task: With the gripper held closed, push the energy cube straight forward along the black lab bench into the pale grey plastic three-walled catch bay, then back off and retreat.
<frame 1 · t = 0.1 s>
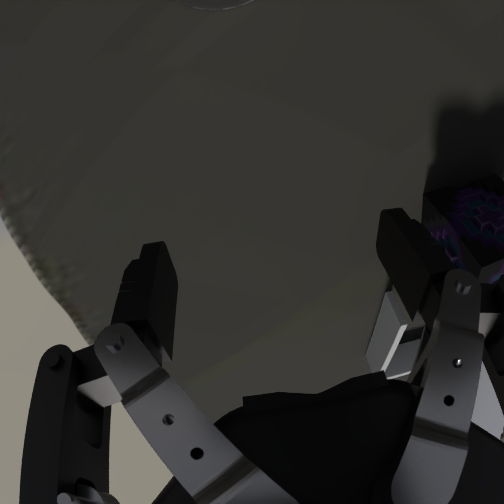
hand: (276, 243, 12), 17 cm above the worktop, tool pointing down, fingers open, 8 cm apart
energy cube: (456, 220, 35), on the worktop
catch bay: (421, 316, 48), on the worktop
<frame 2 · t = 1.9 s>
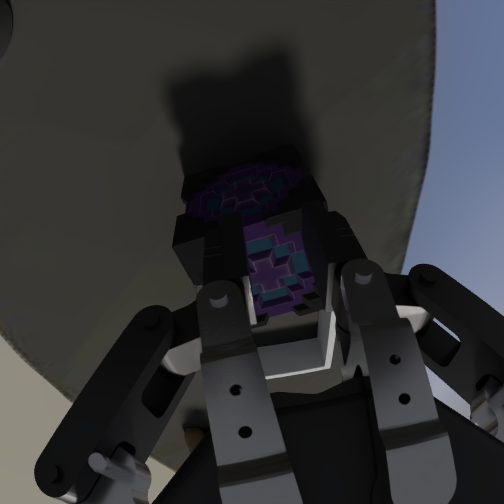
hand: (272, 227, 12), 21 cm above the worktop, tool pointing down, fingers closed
energy cube: (253, 204, 36), on the worktop
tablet: (208, 441, 89), on the worktop
catch bay: (268, 317, 49), on the worktop
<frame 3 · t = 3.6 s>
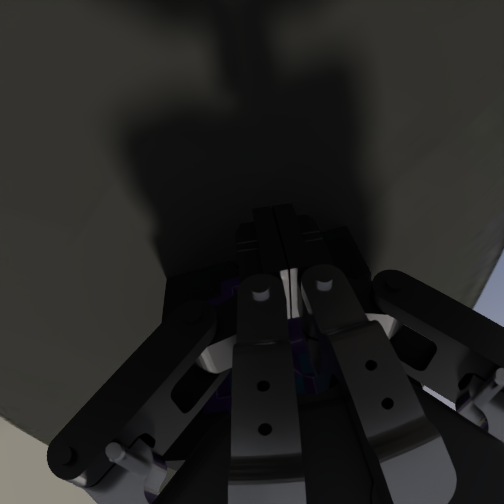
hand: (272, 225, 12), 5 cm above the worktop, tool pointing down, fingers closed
energy cube: (276, 308, 24), on the worktop
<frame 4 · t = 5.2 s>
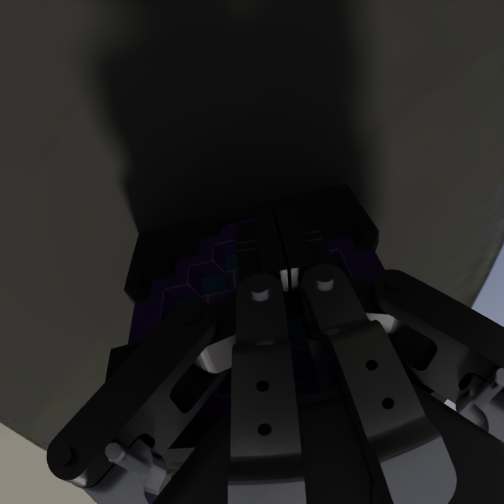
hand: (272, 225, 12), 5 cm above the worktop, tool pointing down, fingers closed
energy cube: (261, 282, 21), on the worktop, touching hand
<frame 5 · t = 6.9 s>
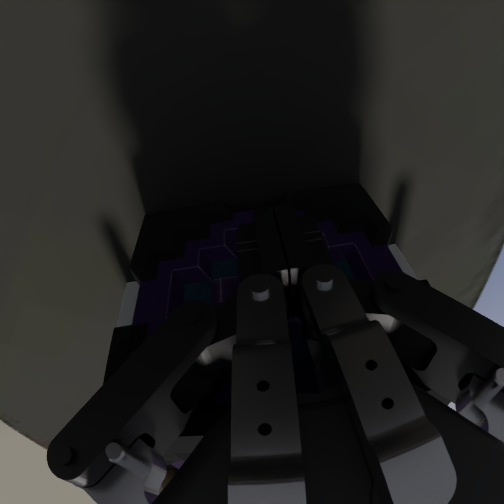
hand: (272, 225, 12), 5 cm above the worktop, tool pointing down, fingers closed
energy cube: (263, 275, 21), on the worktop, touching hand
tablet: (194, 479, 65), on the worktop
catch bay: (272, 344, 26), on the worktop
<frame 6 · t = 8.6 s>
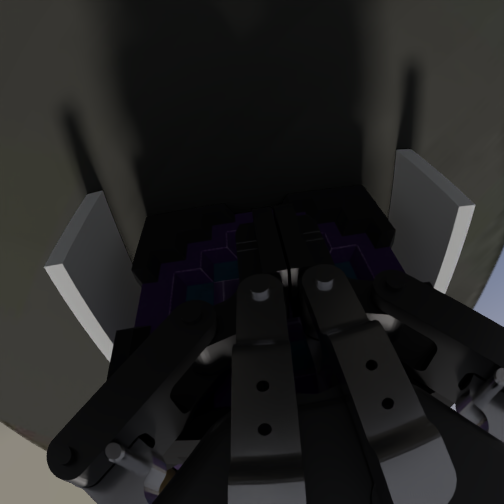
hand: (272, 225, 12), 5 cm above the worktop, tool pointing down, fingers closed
energy cube: (265, 277, 21), on the worktop, touching hand
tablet: (188, 477, 61), on the worktop
catch bay: (266, 289, 21), on the worktop
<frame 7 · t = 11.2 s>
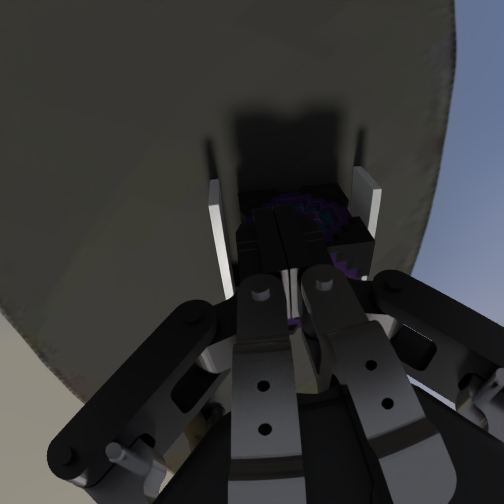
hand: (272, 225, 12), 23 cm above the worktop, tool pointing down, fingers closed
energy cube: (289, 227, 41), on the worktop
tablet: (205, 426, 80), on the worktop
catch bay: (289, 234, 42), on the worktop
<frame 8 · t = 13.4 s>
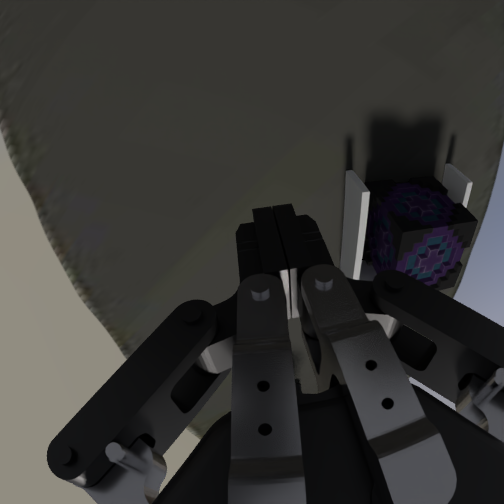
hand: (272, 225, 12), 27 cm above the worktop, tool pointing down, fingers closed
energy cube: (395, 212, 46), on the worktop
catch bay: (395, 217, 47), on the worktop
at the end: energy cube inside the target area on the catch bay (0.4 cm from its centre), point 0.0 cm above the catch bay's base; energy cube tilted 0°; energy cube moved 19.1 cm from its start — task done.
